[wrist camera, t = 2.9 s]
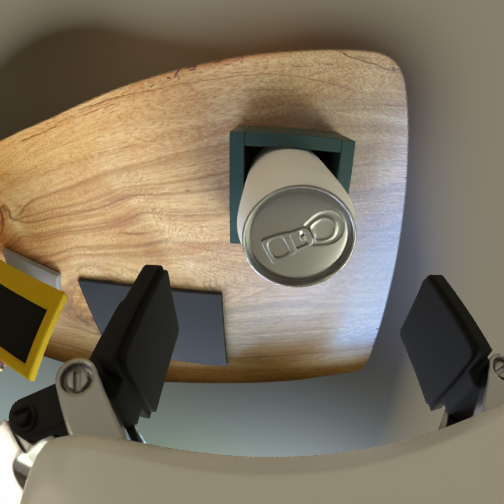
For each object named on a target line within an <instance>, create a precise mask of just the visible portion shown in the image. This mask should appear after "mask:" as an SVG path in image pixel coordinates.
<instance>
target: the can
mask: <svg viewBox="0 0 504 504" xmlns="http://www.w3.org/2000/svg"><path fill="white" fill-rule="evenodd" d="M237 230H238V236H239V239H240V242H241V245H242V247H243V251H244V254H245V256H246V259H247V260H248V262H249V264H250V265H251V267H252V268H253V269H254V270H255V271H256V272H257V273H258V274H259V275H261V276H262V277H263V278H265V279H266V280H268V281H270V282H272V283H275V284H278V285H281V286H286V287H307V286H312V285H316V284H319V283H321V282H324V281H326V280H327V279H329V278H331V277H332V276H334V275H335V274H336V273H338V272H339V271H340V270H341V269H342V268H343V267H344V266H345V264H346V263H347V262H348V260H349V258H350V257H351V255H352V252H353V250H354V247H355V243H356V225H355V212H354V208H353V205H352V202H351V200H350V198H349V196H348V194H347V192H346V191H345V189H344V188H343V186H342V185H341V184H340V183H339V181H338V180H337V179H336V178H335V176H334V175H333V174H332V173H331V172H330V171H329V169H328V168H327V167H326V166H325V165H324V164H323V163H322V161H321V160H320V159H319V158H318V157H317V156H316V155H315V154H314V153H313V152H312V151H311V150H309V149H297V148H283V147H264V148H263V149H262V150H261V151H259V152H258V154H257V155H256V156H255V158H254V159H253V161H252V163H251V166H250V169H249V172H248V175H247V179H246V183H245V186H244V190H243V194H242V198H241V202H240V206H239V210H238V216H237Z"/></svg>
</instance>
